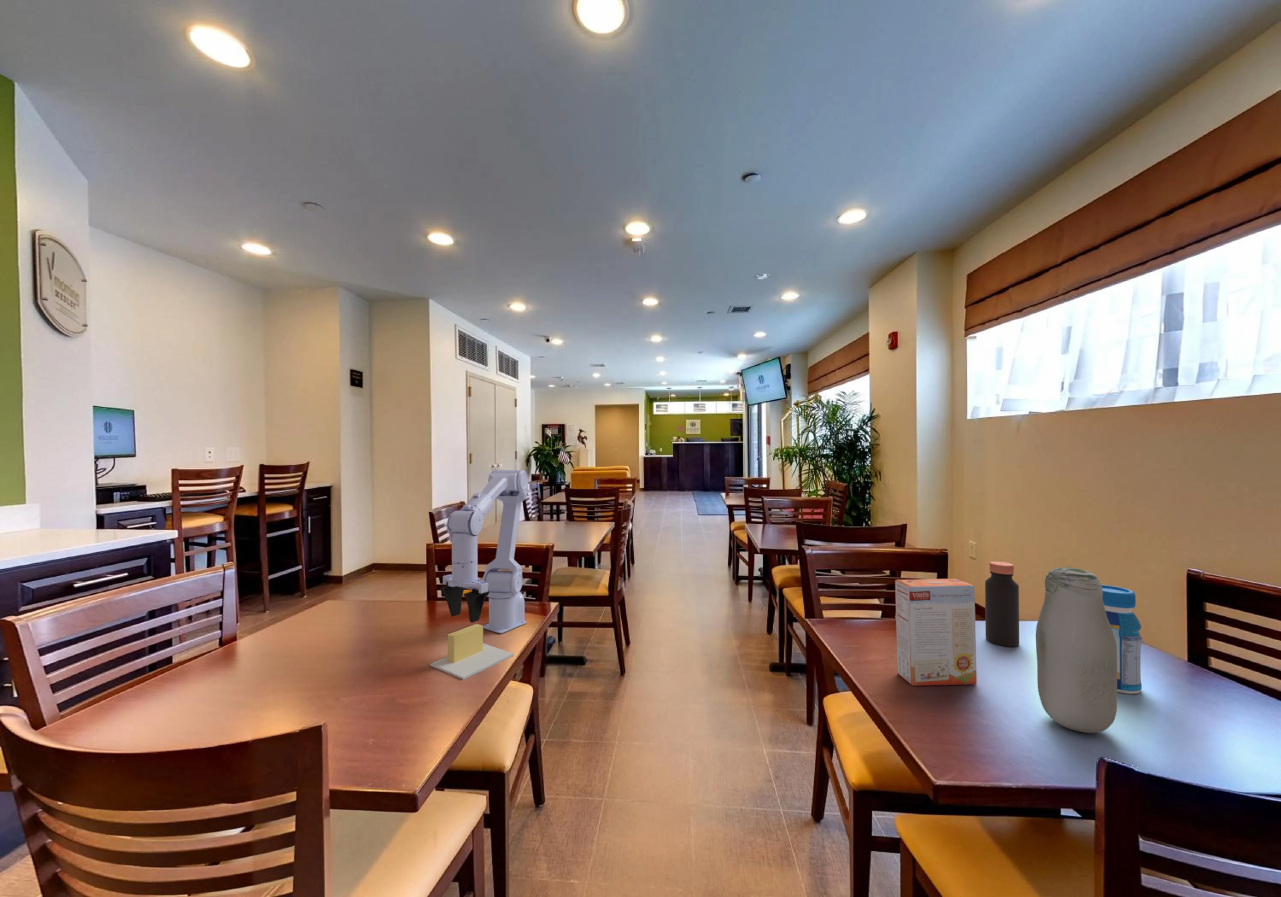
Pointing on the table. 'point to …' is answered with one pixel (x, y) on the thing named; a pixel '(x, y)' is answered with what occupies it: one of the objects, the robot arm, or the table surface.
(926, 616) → the cracker box
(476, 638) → the block
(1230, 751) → the table surface
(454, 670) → the mat
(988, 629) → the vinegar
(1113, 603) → the beverage bottle
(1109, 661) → the grey jar
